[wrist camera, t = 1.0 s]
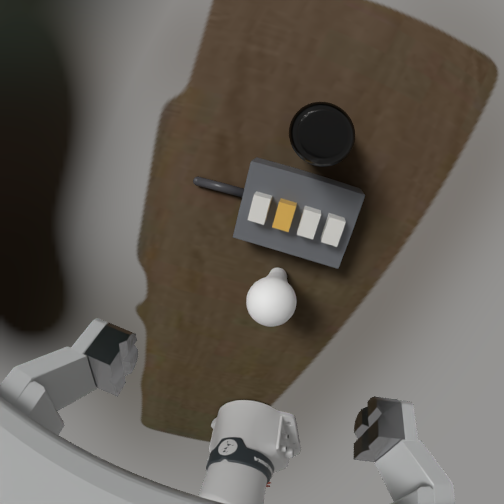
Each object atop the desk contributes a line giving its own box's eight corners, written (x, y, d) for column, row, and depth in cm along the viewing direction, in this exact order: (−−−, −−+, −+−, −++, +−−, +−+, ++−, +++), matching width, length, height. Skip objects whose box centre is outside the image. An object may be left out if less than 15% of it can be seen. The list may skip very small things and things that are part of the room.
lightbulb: (308, 273, 46) (305, 317, 36) (279, 298, 48) (268, 344, 38) (278, 244, 45) (266, 281, 35) (249, 272, 47) (231, 313, 37)
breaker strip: (360, 188, 40) (367, 198, 34) (336, 256, 44) (339, 275, 39) (202, 144, 41) (186, 147, 36) (189, 212, 45) (172, 225, 40)
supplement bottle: (358, 136, 37) (376, 141, 26) (319, 169, 40) (321, 188, 29) (321, 95, 36) (324, 84, 25) (282, 130, 39) (269, 133, 28)
